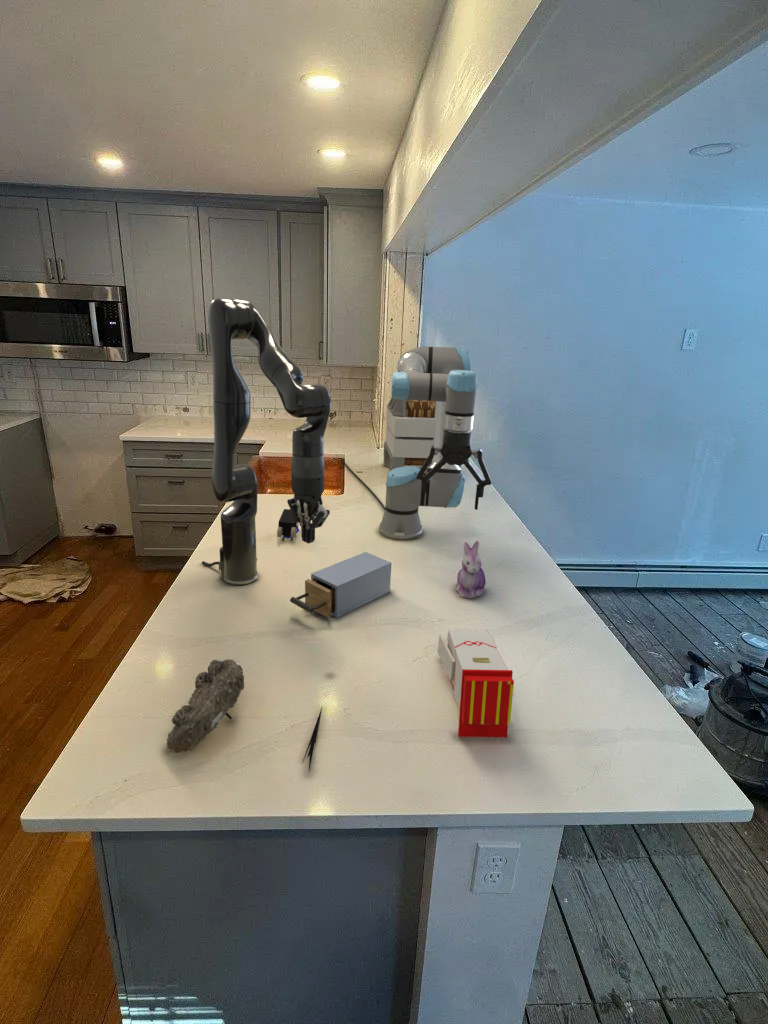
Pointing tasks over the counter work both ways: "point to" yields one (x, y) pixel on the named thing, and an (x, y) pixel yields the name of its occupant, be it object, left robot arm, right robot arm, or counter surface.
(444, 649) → the toy
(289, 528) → the figurine character
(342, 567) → the cabinet
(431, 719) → the counter surface
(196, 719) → the fossil
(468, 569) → the figurine
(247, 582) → the left robot arm
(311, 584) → the drawer
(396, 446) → the white slatted crate
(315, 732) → the feather
